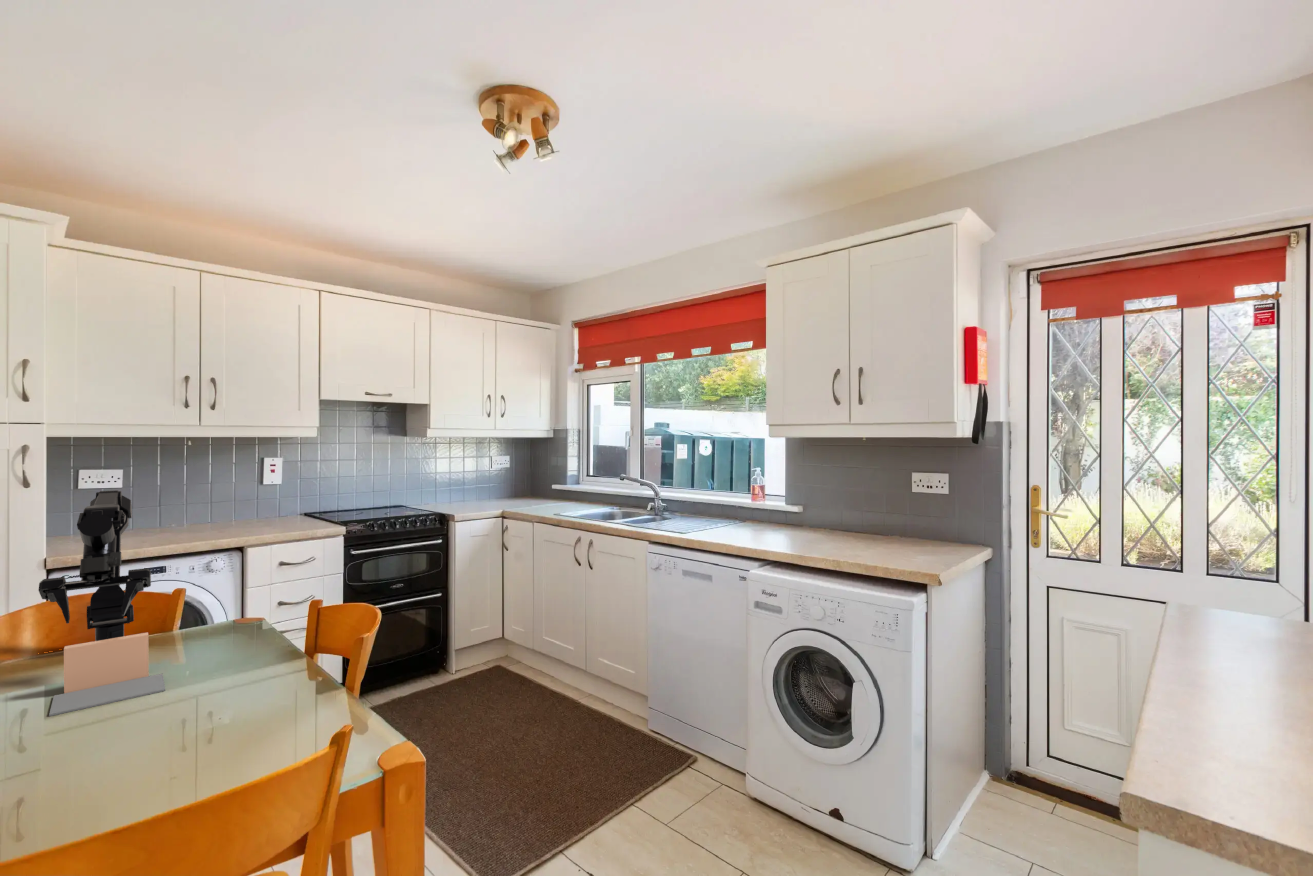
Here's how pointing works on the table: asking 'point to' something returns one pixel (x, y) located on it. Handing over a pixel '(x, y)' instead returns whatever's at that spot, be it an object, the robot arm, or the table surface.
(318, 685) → the table surface
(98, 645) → the terracotta tile
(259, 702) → the table surface
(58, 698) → the mat
